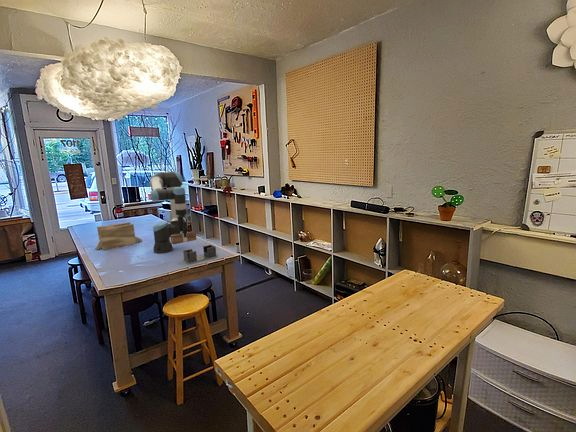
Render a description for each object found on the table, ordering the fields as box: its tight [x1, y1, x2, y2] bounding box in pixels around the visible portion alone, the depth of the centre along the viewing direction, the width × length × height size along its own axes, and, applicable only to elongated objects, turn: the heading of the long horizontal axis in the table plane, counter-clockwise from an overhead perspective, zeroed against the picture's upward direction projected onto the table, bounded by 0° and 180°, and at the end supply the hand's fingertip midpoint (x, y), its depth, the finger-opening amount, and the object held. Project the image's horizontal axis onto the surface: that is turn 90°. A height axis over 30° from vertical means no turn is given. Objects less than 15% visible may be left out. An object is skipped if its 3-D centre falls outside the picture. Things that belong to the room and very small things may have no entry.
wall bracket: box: [94, 224, 143, 251], centre depth 273 cm, size 22×4×30 cm
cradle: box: [96, 221, 137, 251], centre depth 272 cm, size 14×26×18 cm, turn 130°
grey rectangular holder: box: [182, 244, 218, 265], centre depth 231 cm, size 10×23×8 cm, turn 130°
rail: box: [170, 230, 197, 245], centre depth 221 cm, size 4×17×6 cm, turn 128°
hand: (184, 240), depth 221 cm, fingers closed on rail, 4 cm apart
